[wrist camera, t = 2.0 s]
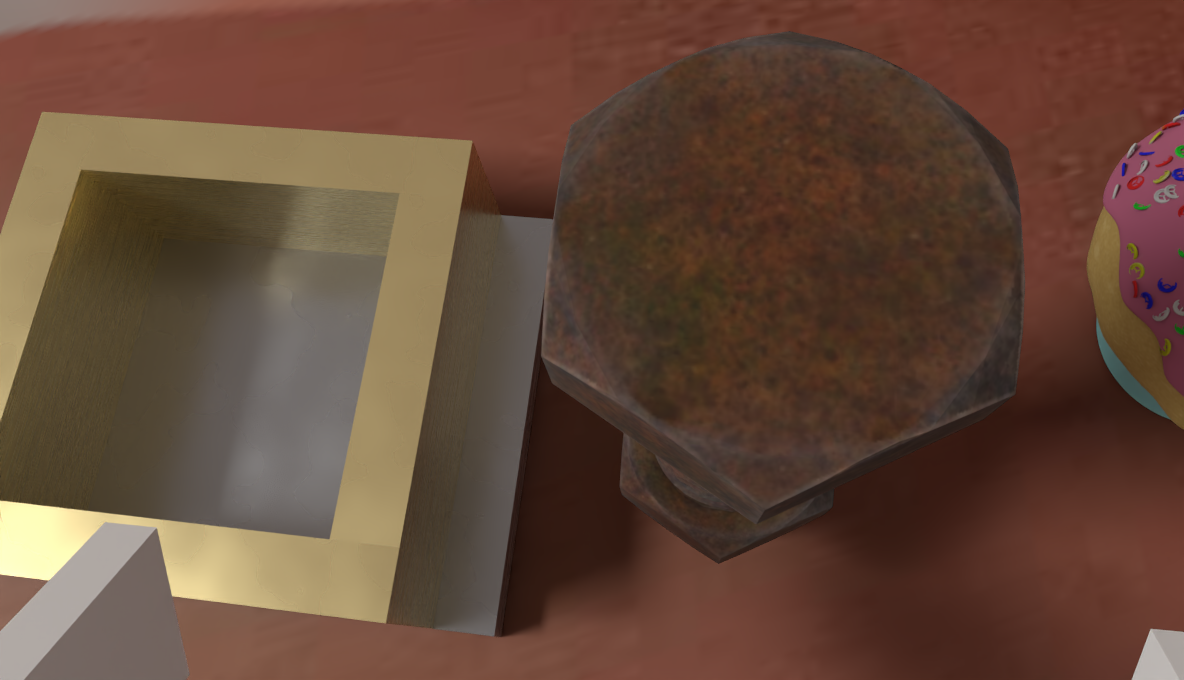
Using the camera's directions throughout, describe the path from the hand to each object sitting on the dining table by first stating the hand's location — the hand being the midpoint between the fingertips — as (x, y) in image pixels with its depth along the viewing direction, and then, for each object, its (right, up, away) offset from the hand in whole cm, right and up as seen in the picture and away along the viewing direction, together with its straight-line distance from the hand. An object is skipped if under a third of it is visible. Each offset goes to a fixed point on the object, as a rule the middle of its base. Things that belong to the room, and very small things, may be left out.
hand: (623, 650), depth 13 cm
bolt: (+3, +1, +12) cm, 12 cm away
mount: (-9, +3, +13) cm, 16 cm away
